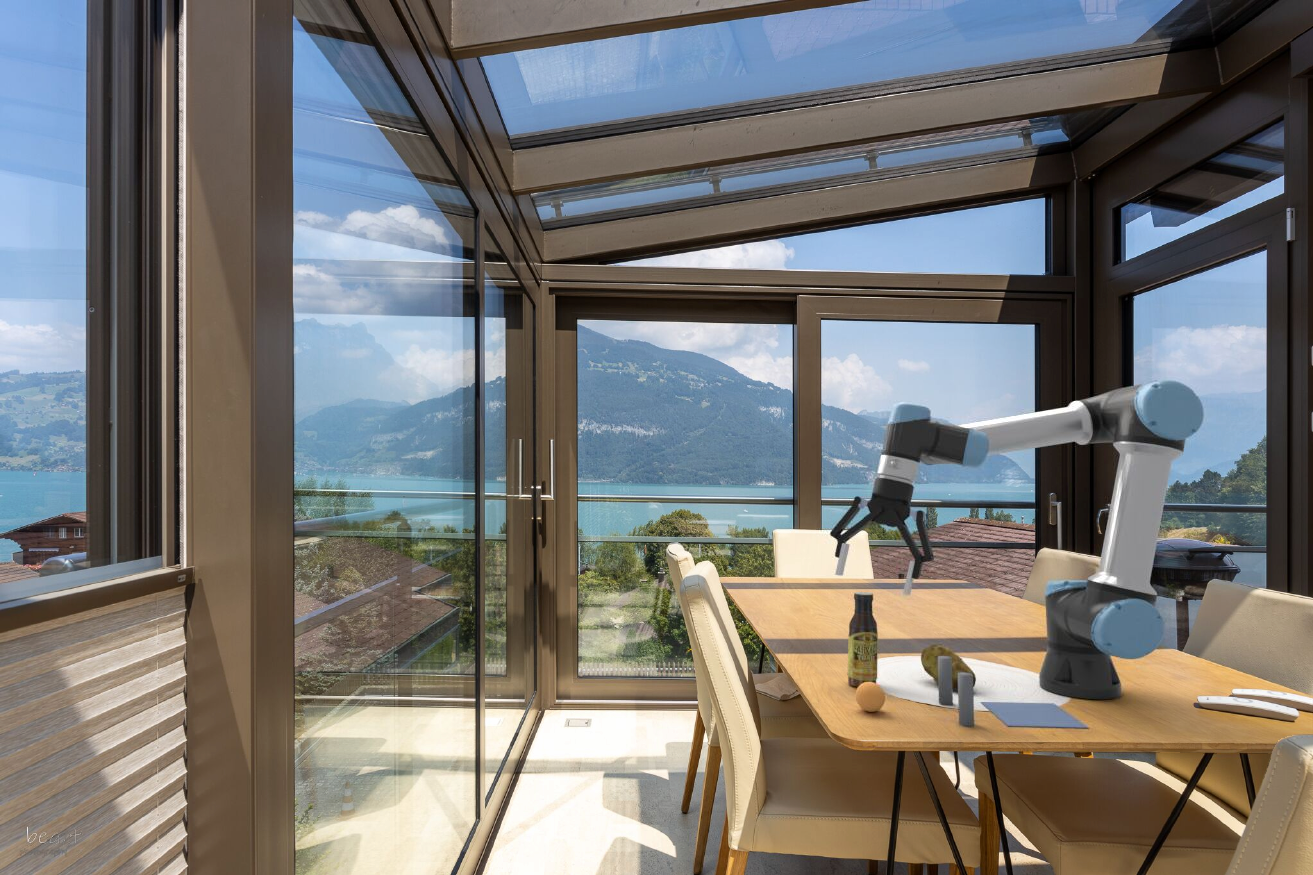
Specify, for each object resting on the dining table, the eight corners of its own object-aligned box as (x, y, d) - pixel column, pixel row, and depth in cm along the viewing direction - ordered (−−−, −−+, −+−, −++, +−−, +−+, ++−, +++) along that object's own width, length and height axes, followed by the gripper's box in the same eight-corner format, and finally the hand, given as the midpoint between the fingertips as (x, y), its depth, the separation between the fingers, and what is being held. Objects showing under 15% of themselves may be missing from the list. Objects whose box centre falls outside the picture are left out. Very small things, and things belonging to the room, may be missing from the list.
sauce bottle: (852, 689, 157) (850, 595, 158) (844, 681, 163) (842, 590, 164) (883, 689, 157) (881, 595, 158) (873, 680, 163) (871, 590, 164)
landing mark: (1053, 704, 146) (1053, 703, 146) (1088, 728, 132) (1088, 727, 132) (980, 702, 147) (980, 701, 147) (1007, 726, 133) (1007, 725, 133)
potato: (941, 695, 153) (940, 655, 153) (916, 678, 165) (915, 642, 166) (980, 694, 153) (979, 655, 154) (952, 677, 166) (951, 641, 166)
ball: (881, 707, 145) (881, 678, 145) (888, 716, 139) (887, 686, 140) (853, 706, 145) (852, 678, 145) (858, 715, 140) (858, 686, 140)
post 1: (950, 701, 148) (949, 655, 149) (954, 705, 146) (953, 659, 146) (937, 700, 148) (936, 655, 149) (941, 704, 146) (939, 658, 146)
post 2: (971, 721, 136) (970, 672, 136) (976, 726, 133) (975, 676, 134) (957, 721, 136) (955, 672, 136) (961, 726, 133) (960, 676, 134)
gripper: (829, 465, 150) (806, 567, 149) (957, 491, 137) (932, 603, 136) (840, 470, 156) (818, 567, 155) (963, 495, 143) (940, 602, 142)
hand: (871, 584), depth 146 cm, fingers open, 13 cm apart
